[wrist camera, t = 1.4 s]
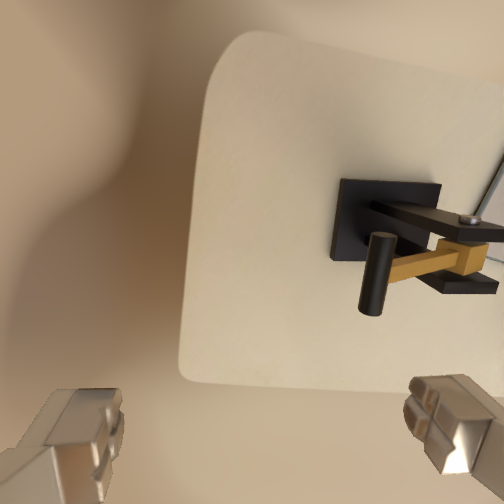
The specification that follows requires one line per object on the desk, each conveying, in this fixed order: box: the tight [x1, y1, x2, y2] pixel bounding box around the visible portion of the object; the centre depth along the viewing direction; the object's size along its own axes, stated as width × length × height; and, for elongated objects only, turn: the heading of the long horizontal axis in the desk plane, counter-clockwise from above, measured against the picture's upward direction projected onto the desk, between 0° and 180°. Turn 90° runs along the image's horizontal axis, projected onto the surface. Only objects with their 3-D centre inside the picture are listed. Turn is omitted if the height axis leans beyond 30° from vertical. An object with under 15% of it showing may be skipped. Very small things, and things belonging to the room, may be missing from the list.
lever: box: [358, 232, 489, 316], centre depth 21 cm, size 12×5×2 cm, turn 86°
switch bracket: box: [330, 179, 504, 294], centre depth 29 cm, size 11×9×14 cm
